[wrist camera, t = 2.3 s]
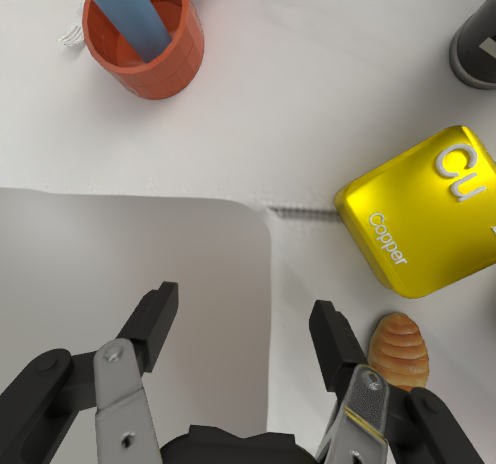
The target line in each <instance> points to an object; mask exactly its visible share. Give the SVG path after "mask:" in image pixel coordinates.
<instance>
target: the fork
mask: <svg viewBox="0 0 496 464" xmlns="http://www.w3.org/2000/svg"><path fill="white" fill-rule="evenodd" d="M84 2H85V0H82V1H81V4H80V6H79V8H78V11H77V14H76V18H75V21H74V24H73V26H72V27H71V29H70V30H69V31H68V32H67V34H66V35H64V36H63V37H62V38H60V39H59V40H57V42H59V41H62V40H64V41H62V42H61V44H62V43H65V42H67V43H65V44H64V45H68V44H70V43H72V44H70V45H68V47H69V46H73V45H76V44H78V43H80V42H82V41H83V40H84V35H83V28H82V16H83V7H84ZM68 37H69V38H68ZM65 39H66V40H65ZM68 41H69V42H68Z"/></svg>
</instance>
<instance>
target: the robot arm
mask: <svg viewBox="0 0 496 464" xmlns="http://www.w3.org/2000/svg"><path fill="white" fill-rule="evenodd" d="M450 61H451V65H452V68H453V70H454V72H455V73H456V75H457V76H458V77H459V78H460V79H461V80H462V81H464V82H465V83H467V84H469V85H471V86H473V87H476V88H480V89H496V0H486V1H485V3H484V4H483V5H482V6H481V7H480V8H479V9H478V10H477V11H476V12H475V13H474V14H473V15H472V16H471V17H470V18H469V19H468V20H467V21H466V22H465V23H464V24H463V25H462V27H461V28H460V29H459V30H458V32H457V33H456V35H455V37H454V39H453V41H452V44H451V48H450ZM177 309H178V283H175V282H174V283H173V282H166V281H164V282H163V283H162V285H161V286H160V288H159V289H158V290H151V291H150V292H148V293H147V294H146V295H145V296H143V298H142V299H141V301H140V302H139V305H137V307H136V308H135V310H134V312H133V313H132V315H131V316H130V318H129V319H128V321H127V322H126V324H125V325H124V327H123V328H122V330H121V331H120V333H119V334H118V336H117V337H116V338H115V339H114V340H112V341H109V342H108V343H106V344H104V345H103V346H102V347H101V348H100V349H99V350H97V351H94V352H90V353H84V354H79V355H74V356H71V354H70V352H69V351H68V350H65V349H53V350H50V351H47V352H45V353H43V354H41V355H39V356H38V357H36V358H35V359H34V360H32V361H31V362H30V363H29V364H28V365H27V366H26V367H25V368H24V369H23V370H22V372H21V373H20V374H19V375H18V376H17V377H16V378H15V379H14V381H13V382H12V383H11V384H10V385H9V386H8V387H7V388H6V389H5V390H4V392H3V393H2V394H1V395H0V464H49V463H50V462H51V460H52V458H53V456H54V455H55V453H56V451H57V449H58V448H59V446H60V444H61V442H62V441H63V439H64V437H65V435H66V434H67V432H68V430H69V428H70V426H71V425H72V423H73V421H74V419H75V418H76V416H77V414H78V412H79V411H81V410H85V409H88V408H92V407H96V406H97V413H96V414H95V426H96V441H97V456H98V464H386V461H387V453H388V444H389V446H390V449H391V451H392V454H393V457H394V459H395V462H396V464H484V462H483V460H482V459H481V457H480V456H479V454H478V453H477V451H476V450H475V448H474V447H473V445H472V444H471V442H470V441H469V439H468V438H467V436H466V435H465V433H464V432H463V430H462V428H461V427H460V425H459V424H458V422H457V421H456V419H455V418H454V416H453V415H452V413H451V412H450V410H449V409H448V407H447V406H446V405H445V403H444V402H443V401H442V400H441V399H440V398H439V397H438V396H436V395H435V394H434V393H432V392H431V391H429V390H427V389H425V388H423V387H414V388H412V389H411V391H410V392H408V391H406V390H404V389H401V388H399V387H397V386H394V385H392V384H390V383H388V382H387V381H386V379H385V378H384V377H383V375H382V374H381V373H380V372H379V371H377V370H376V369H375V368H373V367H371V366H370V365H369V363H368V361H367V359H366V357H365V355H364V353H363V351H362V349H361V347H360V345H359V343H358V341H357V339H356V337H355V335H354V333H353V331H352V330H351V326H350V324H349V322H348V320H347V319H346V318H345V317H344V316H343V315H342V314H341V312H338V311H336V310H335V308H334V306H333V304H332V302H331V301H325V300H316V302H315V305H314V307H313V310H312V313H311V316H310V319H309V329H310V333H311V337H312V340H313V344H314V347H315V351H316V354H317V358H318V361H319V365H320V369H321V372H322V376H323V379H324V383H325V386H326V390H327V392H335V393H336V396H337V400H336V402H335V405H334V408H333V411H332V413H331V416H330V419H329V422H328V425H327V427H326V430H325V433H324V436H323V439H322V441H321V443H320V445H319V448H318V450H317V452H316V454H315V457H313V456H312V455H311V454H310V453H309V452H307V451H306V450H305V449H304V448H302V447H300V446H299V445H297V444H295V436H294V434H285V433H274V432H267V433H264V434H260V435H256V436H252V437H248V438H244V439H243V438H239V437H237V436H235V435H232V434H230V433H228V432H226V431H224V430H221V429H219V428H217V427H210V426H200V425H190V428H189V433H188V434H184V435H181V436H179V437H176V438H175V439H173V440H172V441H170V442H168V443H167V444H165V445H164V446H163V447H162V448H161V449H159V445H158V442H157V437H156V433H155V429H154V425H153V421H152V417H151V413H150V409H149V405H148V401H147V397H146V393H145V390H144V387H143V384H142V381H141V377H142V375H143V373H144V372H148V373H151V372H152V370H153V368H154V365H155V363H156V361H157V358H158V355H159V353H160V351H161V349H162V346H163V344H164V341H165V339H166V337H167V335H168V332H169V330H170V327H171V325H172V322H173V320H174V318H175V316H176V313H177ZM384 438H385V439H387V441H388V443H387V441H386V440H385V439H384Z"/></svg>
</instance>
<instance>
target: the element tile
mask: <svg viewBox="0 0 496 464" xmlns="http://www.w3.org/2000/svg"><path fill="white" fill-rule="evenodd" d="M334 201H335V207H336V209H337V211H338V213H339V215H340V216H341V218H342V220H343V221H344V223H345V225H346V226H347V228H348V230H349V231H350V233H351V235H352V236H353V238H354V240H355V241H356V243H357V245H358V246H359V248H360V250H361V251H362V253H363V255H364V256H365V258H366V260H367V261H368V263H369V265H370V266H371V268H372V270H373V271H374V273H375V275H376V276H377V278H378V280H379V281H380V282H381V283H382V284H383V285H384V286H385V287H387V288H388V289H390V290H392V291H394V292H395V293H397V294H399V295H401V296H402V297H405V298H409V299H416V298H421V297H424V296H426V295H428V294H430V293H433V292H435V291H437V290H439V289H441V288H443V287H446V286H448V285H450V284H452V283H454V282H456V281H459V280H461V279H463V278H465V277H467V276H469V275H472V274H474V273H476V272H478V271H480V270H482V269H485V268H487V267H489V266H491V265H493V264H495V263H496V164H495V162H494V161H493V159H492V158H491V156H490V155H489V153H488V152H487V150H486V149H485V147H484V145H483V144H482V142H481V141H480V139H479V138H478V136H477V135H476V134H475V133H474V132H473V131H472V130H471V129H469V128H468V127H466V126H460V125H458V126H452V127H448V128H445V129H444V130H442V131H440V132H438V133H437V134H435V135H433V136H431V137H430V138H428V139H426V140H424V141H423V142H421V143H419V144H417V145H416V146H414V147H412V148H410V149H409V150H407V151H405V152H403V153H402V154H400V155H398V156H396V157H395V158H393V159H391V160H389V161H388V162H386V163H384V164H382V165H381V166H379V167H377V168H375V169H374V170H372V171H370V172H368V173H367V174H365V175H363V176H361V177H360V178H358V179H356V180H354V181H353V182H351V183H349V184H348V185H346V186H345V187H343V188H342V189H341V190H339V192H338V193H337V194H336V196H335V200H334Z"/></svg>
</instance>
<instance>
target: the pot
mask: <svg viewBox="0 0 496 464" xmlns="http://www.w3.org/2000/svg"><path fill="white" fill-rule="evenodd" d="M150 1H151V3H152V5H153V6H154V8H155V10H156V12H157V13H158V15H159V17H160V19H161V20H162V22H163V24H164V26H165V27H166V29H167V31H168V33H169V34H170V36H171V39H172V42H171V43H170V44H169V45H168V47H167V48H166V49H165V50H164V52H163V53H162V54H161V55H159V56H158V57H157V58H155V59H154V60H152V61H151V62H149V63H148V64H146V63H145V62H144V61H143V60H142V59H141V58H140V56H139V55H138V54H137V53H136V52H135V50H134V49H133V48H132V47H131V46H130V44H129V43H128V42H127V41H126V40H125V38H124V37H123V36H122V35H121V33H120V32H119V31H118V30H117V29H116V27H115V26H114V25H113V24H112V23H111V21H110V20H109V19H108V18H107V16H106V15H105V14H104V13H103V12H102V10H101V9H100V8H99V7H98V6H97V4H96V3H95V2H94V1H93V0H85V2H84V7H83V16H82V28H83V35H84V40H85V42H86V44H87V47H88V49H89V51H90V53H91V55H92V56H93V57H94V58H95V59H96V60H97V61H98V62H99V63H100V64H101V65H102V66H103V67H104V68H105V69H106V70H107V71H108V72H109V73H110V74H111V75H112V76H114V77H115V78H116V79H117V80H118V81H119V82H120V83H121V84H122V85H124V86H125V87H126V88H127V89H128V90H129V91H131V92H132V93H134V94H135V95H137V96H139V97H142V98H145V99H151V100H158V99H164V98H167V97H170V96H173V95H175V94H176V93H178V92H180V91H181V90H182V89H183V88H185V87H186V86H187V85H188V84H189V83H190V82H191V80H192V79H193V78H194V76H195V74H196V73H197V71H198V69H199V67H200V64H201V61H202V58H203V52H204V36H203V31H202V28H201V24H200V21H199V19H198V16H197V14H196V11H195V8H194V6H193V3H192V1H191V0H150Z"/></svg>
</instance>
